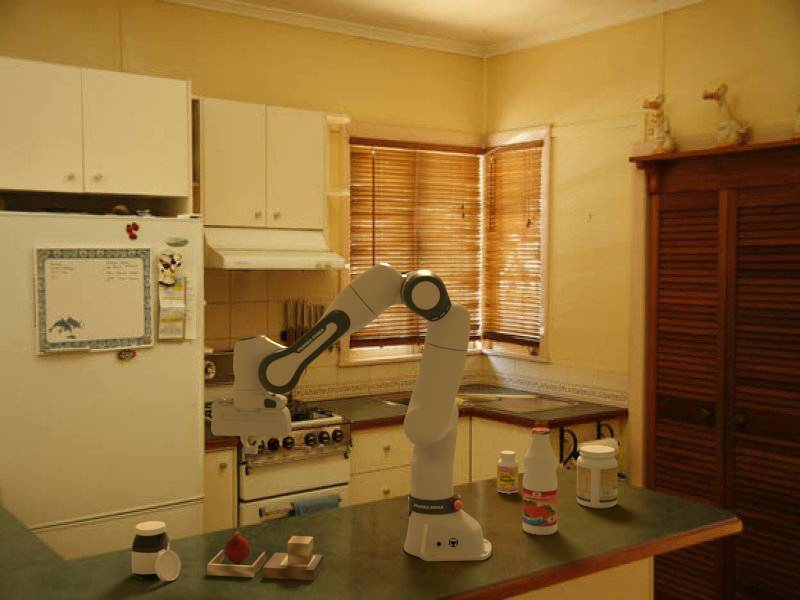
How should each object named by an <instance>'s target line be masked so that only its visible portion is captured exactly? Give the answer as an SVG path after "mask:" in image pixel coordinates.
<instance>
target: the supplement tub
mask: <svg viewBox="0 0 800 600" xmlns="http://www.w3.org/2000/svg"><path fill="white" fill-rule="evenodd" d="M615 451H616V450H615V448H614V447H611V446H607V445H601V444H600V445H599V444H589V445H583V446H580V447H579V456H578V457H577V459H576V500H577V503H578V504H579V505H581V506H583V507H586V506H587V507H586V508H592V509H609V507H610V508H612V507H614V506H616V504H618V467H619V466H618V465H619V463H618V460H617V459H616V457H615V456H616V453H615Z"/></svg>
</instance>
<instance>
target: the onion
mask: <svg viewBox="0 0 800 600" xmlns="http://www.w3.org/2000/svg"><path fill="white" fill-rule="evenodd" d="M250 549H251V548H250V544H249V541H248V540H247V538H245V537H243V536H242V535H241V532H239V531H236V532H235V533H234V535H233V536H232V537H231V538H230V539H229V540H228V541H227V543H226V545H225V549H224V554H225V556H226V558H227V559H228V561H230V562H231V563H233V564H234V565H242V563H243V562H244V561H245V560H246V559H247V558H248V556H249V554H250Z"/></svg>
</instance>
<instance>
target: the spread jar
mask: <svg viewBox="0 0 800 600" xmlns="http://www.w3.org/2000/svg"><path fill="white" fill-rule="evenodd" d="M134 529H135V532H134V533H135V535H134V537H133V540H132V544H131V572H132V575H133V576H134V577H135V578H137V579H139V578H142V579H141V580H146V579H148V580H155V579H154V578H156V579H159V580H161V581H163V582H171V581H174V580H176V579H177V578H178V577H179V575H180V573H181V569H182V564H181V559H180V557H179V555H178V553H176V552H175V551H173V550H171V549H170V548H171V547H170V546H171V545H170V536H169V534H168V533H167V531H166V523H165V522H163V521H161V520H160V521H158V520H152V521H144V522H140V523H137V525H135V528H134Z"/></svg>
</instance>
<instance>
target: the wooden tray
mask: <svg viewBox="0 0 800 600" xmlns="http://www.w3.org/2000/svg"><path fill="white" fill-rule="evenodd" d="M266 554H267V553H266V551H262V553H261V554H260V555H259V556H258V557H257V559H256V560H255V561H254V562H253V563H252V564H251V565H247V564H246V565H245V564H244V565H242V564H239V565H237V564H227V563H226V564H223V562H224V561H225V549H221V550H220V551H219V552H218V553H217V554H216V555H215V556H214V557H213V558H212V559H211V560H210V561H209V562H208V563H207V564H206V575H207V576H218V577H219V576H222V577H223V576H224V577H243V578H254V577H255V576H256V575H257V574H258V572H259V571H260V570H261V569H263V571H262V572H263V575H262V577H263V579H275V578H278V580H279V579H280V580H298V581H299V580H301V581H313V582H314V581H315V579H316V577H317V575H319V573H320V571H321V570H322V569H323V568H322V567H323V566H324V554H314V553H313V558H312V560H311V562H310V563H309V565H304V564H288V552H274V553H273V554H272V556H271V557H270V559H268V561H266V560H267V559H266V556H267V555H266Z"/></svg>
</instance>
